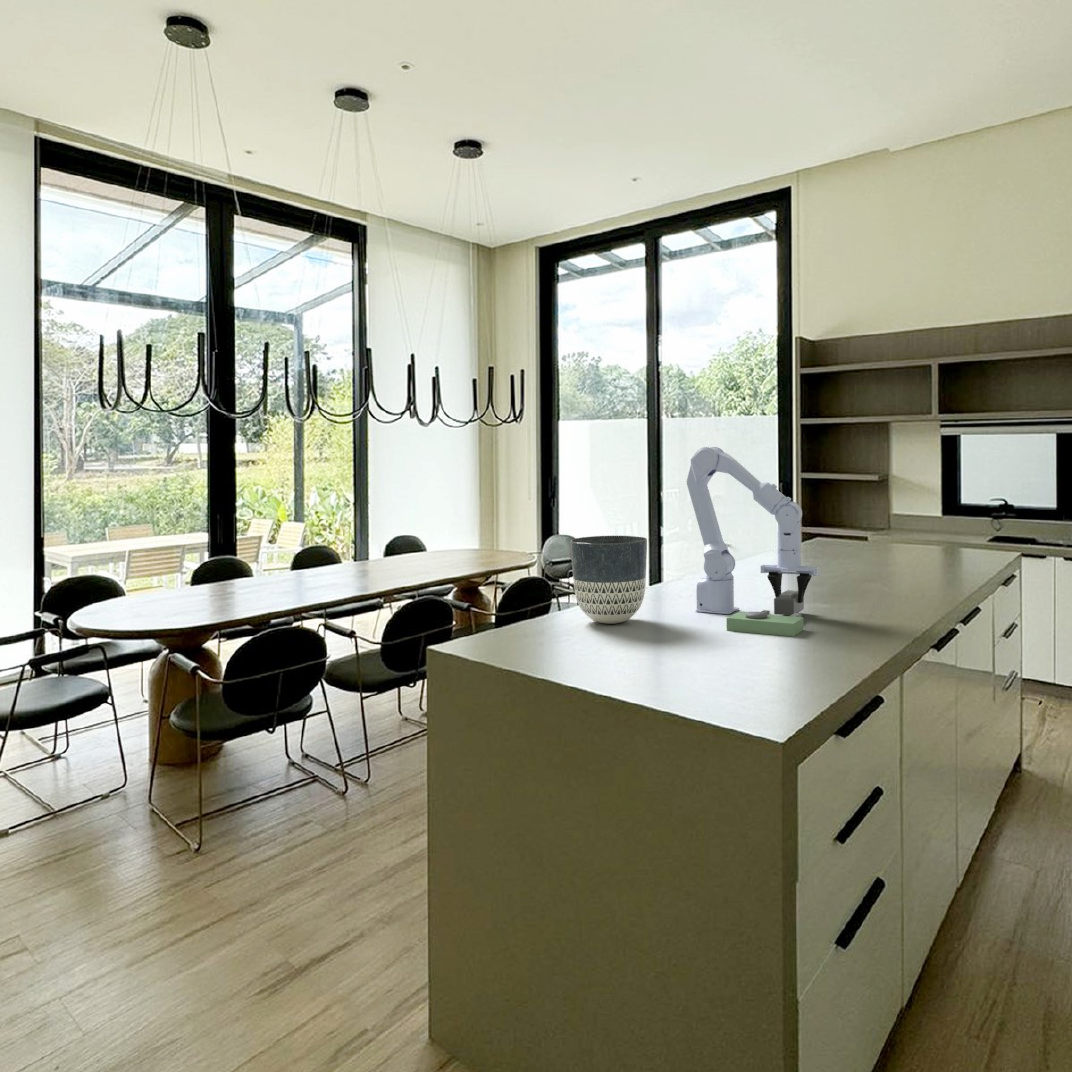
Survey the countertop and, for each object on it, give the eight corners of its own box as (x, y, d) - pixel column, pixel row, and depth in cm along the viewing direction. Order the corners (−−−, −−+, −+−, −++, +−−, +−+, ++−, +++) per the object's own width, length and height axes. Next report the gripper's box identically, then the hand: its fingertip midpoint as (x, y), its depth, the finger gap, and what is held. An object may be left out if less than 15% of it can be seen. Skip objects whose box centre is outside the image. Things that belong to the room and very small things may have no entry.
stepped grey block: (774, 614, 212) (773, 594, 211) (784, 607, 219) (784, 589, 219) (793, 615, 209) (793, 596, 208) (803, 609, 216) (803, 590, 216)
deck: (726, 630, 199) (726, 614, 199) (751, 616, 214) (751, 602, 214) (793, 636, 190) (793, 620, 190) (814, 622, 205) (814, 606, 205)
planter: (572, 615, 223) (569, 536, 221) (644, 613, 222) (643, 534, 220) (573, 631, 204) (570, 544, 201) (652, 629, 203) (650, 542, 201)
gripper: (756, 550, 213) (756, 602, 215) (813, 552, 205) (813, 606, 207) (765, 547, 219) (765, 597, 221) (821, 549, 211) (821, 601, 213)
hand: (789, 601), depth 214 cm, fingers closed on stepped grey block, 5 cm apart
